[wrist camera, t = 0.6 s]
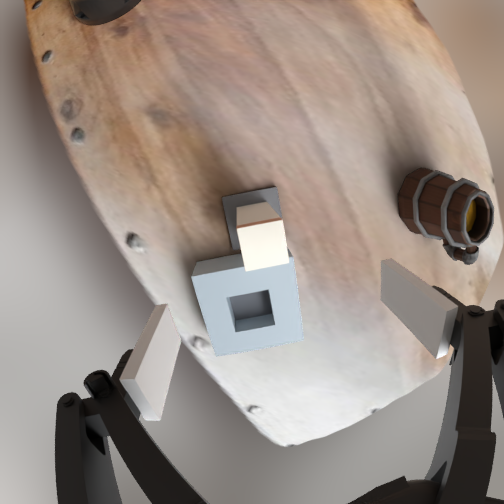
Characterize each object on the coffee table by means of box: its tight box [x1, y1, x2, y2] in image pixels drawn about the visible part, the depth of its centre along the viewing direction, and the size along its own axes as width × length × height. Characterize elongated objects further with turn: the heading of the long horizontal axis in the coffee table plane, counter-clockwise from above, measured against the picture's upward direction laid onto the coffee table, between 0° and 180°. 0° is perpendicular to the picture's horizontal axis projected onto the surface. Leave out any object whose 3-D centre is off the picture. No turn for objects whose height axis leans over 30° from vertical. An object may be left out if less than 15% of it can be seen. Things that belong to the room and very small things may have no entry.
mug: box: [398, 168, 494, 265], centre depth 35 cm, size 16×12×15 cm
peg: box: [236, 202, 289, 271], centre depth 33 cm, size 4×4×14 cm
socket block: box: [191, 247, 304, 356], centre depth 42 cm, size 14×14×6 cm
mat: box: [222, 187, 282, 250], centre depth 40 cm, size 8×8×1 cm
